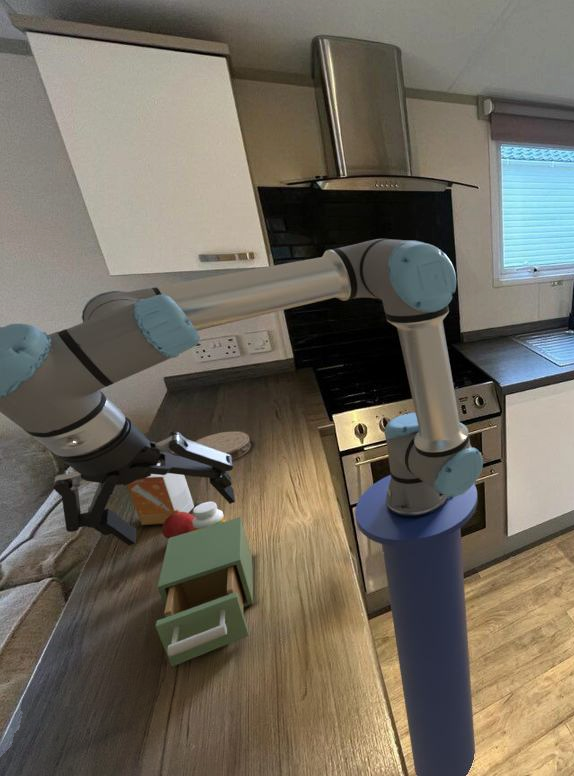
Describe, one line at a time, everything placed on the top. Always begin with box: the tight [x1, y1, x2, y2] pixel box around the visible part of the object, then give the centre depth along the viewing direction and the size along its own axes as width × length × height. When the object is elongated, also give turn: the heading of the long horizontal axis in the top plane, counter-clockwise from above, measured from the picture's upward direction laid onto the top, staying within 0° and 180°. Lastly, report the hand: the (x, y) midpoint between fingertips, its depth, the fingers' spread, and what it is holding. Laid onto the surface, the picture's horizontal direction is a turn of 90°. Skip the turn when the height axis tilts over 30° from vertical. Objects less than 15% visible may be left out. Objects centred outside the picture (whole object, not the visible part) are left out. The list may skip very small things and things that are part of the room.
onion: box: [161, 509, 195, 540], centre depth 96 cm, size 6×6×8 cm
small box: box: [126, 462, 195, 526], centre depth 103 cm, size 8×6×13 cm
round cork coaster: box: [194, 430, 252, 461], centre depth 132 cm, size 16×16×3 cm
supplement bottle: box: [192, 501, 227, 530], centre depth 95 cm, size 5×5×10 cm
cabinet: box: [157, 516, 254, 608], centre depth 82 cm, size 14×12×11 cm
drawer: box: [155, 565, 249, 667], centre depth 74 cm, size 18×10×9 cm, turn 32°
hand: (184, 516), depth 70 cm, fingers open, 13 cm apart
